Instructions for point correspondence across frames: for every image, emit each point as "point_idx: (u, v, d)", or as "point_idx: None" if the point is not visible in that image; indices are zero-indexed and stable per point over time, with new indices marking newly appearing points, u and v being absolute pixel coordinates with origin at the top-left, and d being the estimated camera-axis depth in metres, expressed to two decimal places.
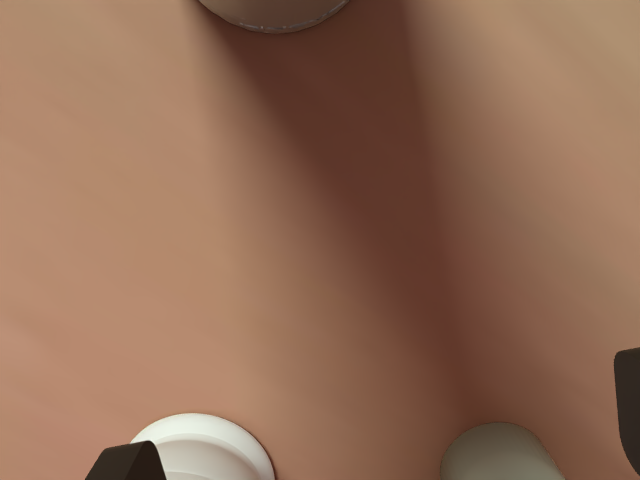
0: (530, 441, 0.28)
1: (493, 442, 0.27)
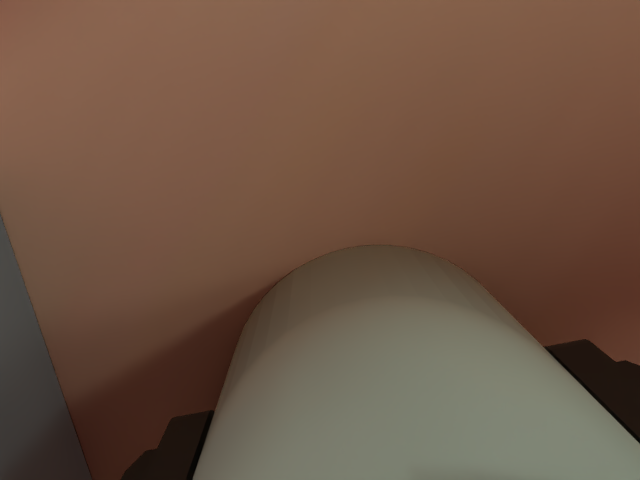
0: None
1: None
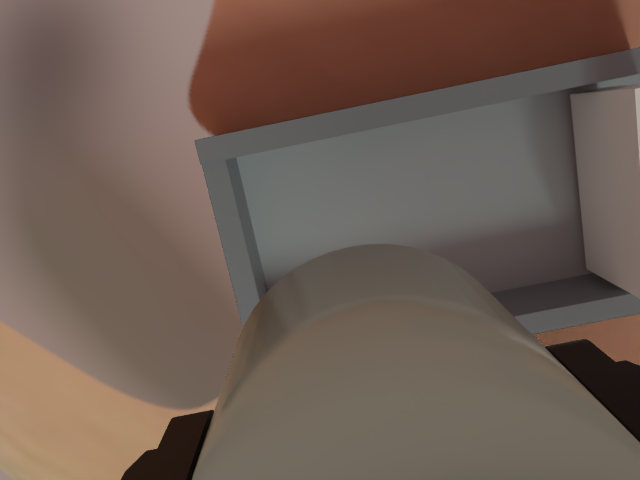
0: None
1: None
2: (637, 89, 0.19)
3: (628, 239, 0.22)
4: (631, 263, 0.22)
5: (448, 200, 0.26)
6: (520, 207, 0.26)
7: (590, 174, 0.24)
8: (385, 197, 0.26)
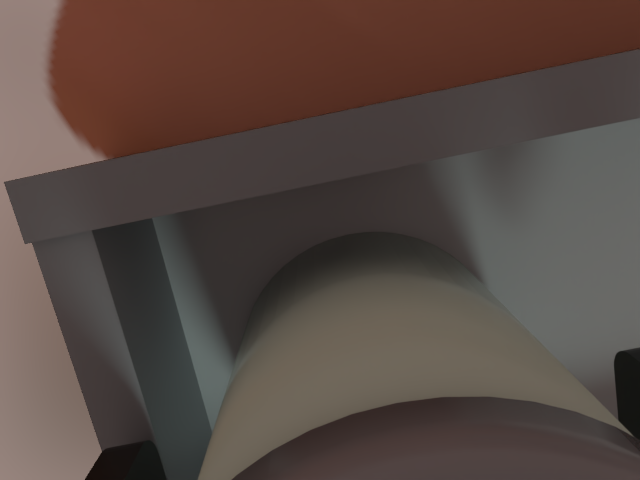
0: None
1: None
2: None
3: None
4: None
5: (600, 294, 0.12)
6: None
7: None
8: None
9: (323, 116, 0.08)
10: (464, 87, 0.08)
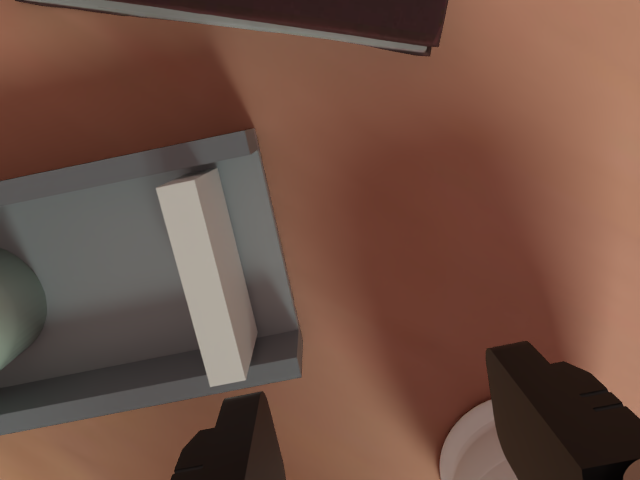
0: (30, 336, 0.26)
1: (26, 297, 0.25)
2: (157, 188, 0.20)
3: None
4: None
5: (87, 272, 0.26)
6: (159, 279, 0.27)
7: None
8: None
9: None
10: None
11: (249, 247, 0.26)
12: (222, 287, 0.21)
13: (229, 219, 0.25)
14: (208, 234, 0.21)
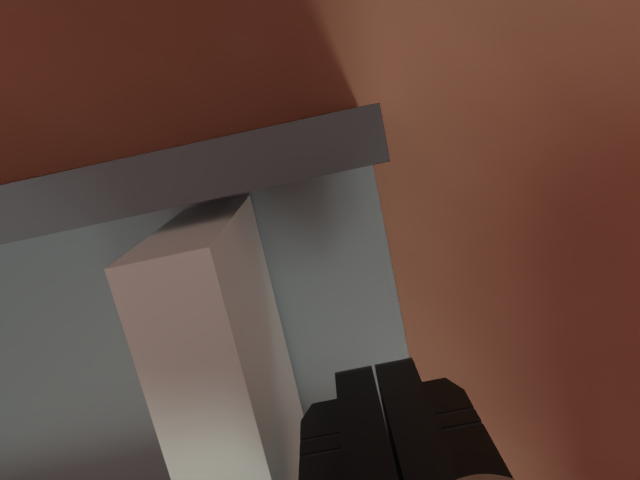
0: None
1: None
2: (109, 271, 0.07)
3: None
4: None
5: (32, 390, 0.14)
6: None
7: None
8: None
9: None
10: None
11: (347, 341, 0.13)
12: None
13: (274, 298, 0.13)
14: (246, 384, 0.08)
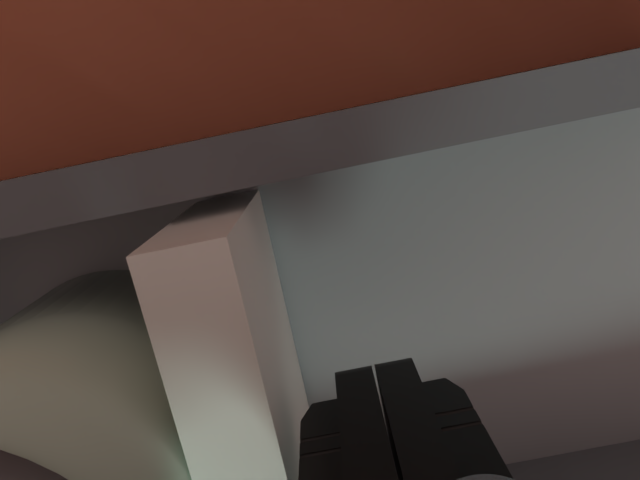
0: None
1: None
2: (130, 259, 0.08)
3: None
4: None
5: (330, 322, 0.14)
6: (465, 334, 0.14)
7: None
8: None
9: None
10: (98, 162, 0.10)
11: None
12: None
13: (281, 290, 0.13)
14: (259, 369, 0.08)
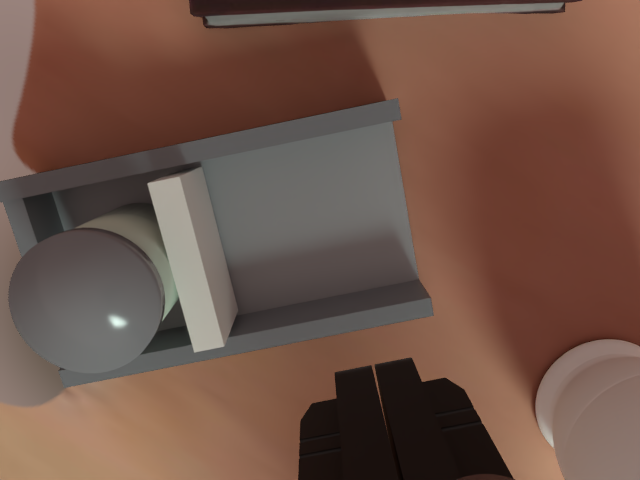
0: None
1: None
2: (148, 183, 0.24)
3: None
4: None
5: (237, 228, 0.30)
6: (299, 233, 0.30)
7: None
8: None
9: (93, 162, 0.26)
10: (136, 153, 0.26)
11: (380, 206, 0.30)
12: (204, 267, 0.25)
13: (212, 211, 0.29)
14: (191, 222, 0.25)
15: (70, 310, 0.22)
